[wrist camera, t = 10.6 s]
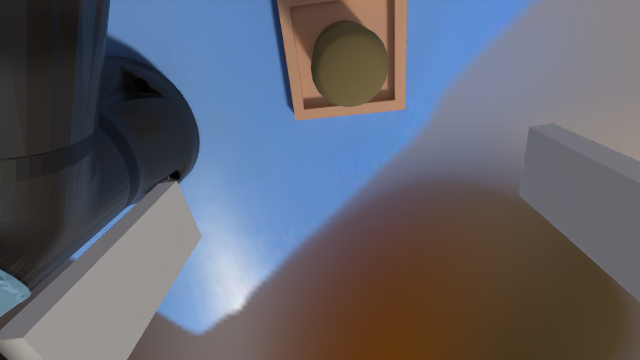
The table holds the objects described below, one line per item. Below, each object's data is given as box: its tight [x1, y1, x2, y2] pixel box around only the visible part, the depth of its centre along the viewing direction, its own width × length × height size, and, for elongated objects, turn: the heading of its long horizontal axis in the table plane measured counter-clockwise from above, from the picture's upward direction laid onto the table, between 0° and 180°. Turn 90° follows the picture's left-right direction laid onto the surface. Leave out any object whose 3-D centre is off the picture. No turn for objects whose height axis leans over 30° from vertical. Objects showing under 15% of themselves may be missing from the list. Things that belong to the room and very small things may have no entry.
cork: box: [311, 20, 389, 107], centre depth 23 cm, size 6×6×11 cm
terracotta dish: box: [277, 0, 407, 120], centre depth 28 cm, size 11×11×1 cm
